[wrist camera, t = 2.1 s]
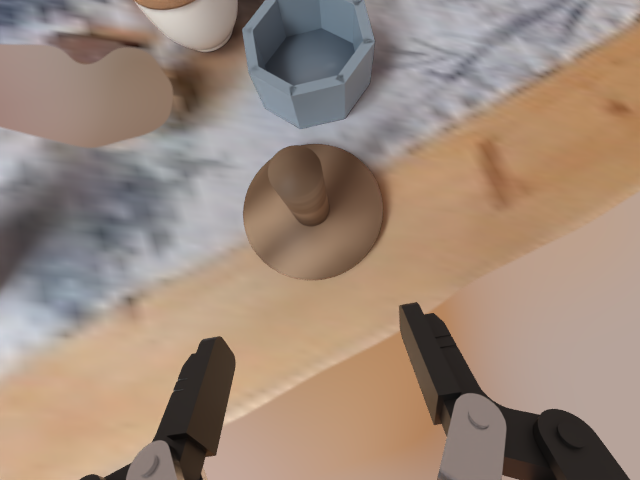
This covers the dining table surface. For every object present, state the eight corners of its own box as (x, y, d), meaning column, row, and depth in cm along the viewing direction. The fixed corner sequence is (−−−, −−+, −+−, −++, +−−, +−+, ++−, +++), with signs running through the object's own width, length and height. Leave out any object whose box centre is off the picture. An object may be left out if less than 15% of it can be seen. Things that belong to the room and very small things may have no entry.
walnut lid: (221, 231, 27) (153, 202, 17) (296, 128, 29) (271, 46, 19) (331, 308, 25) (322, 325, 15) (407, 192, 26) (446, 137, 16)
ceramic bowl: (241, 94, 30) (220, 57, 25) (300, 16, 31) (291, -34, 26) (326, 144, 28) (322, 114, 23) (387, 59, 29) (395, 12, 24)
